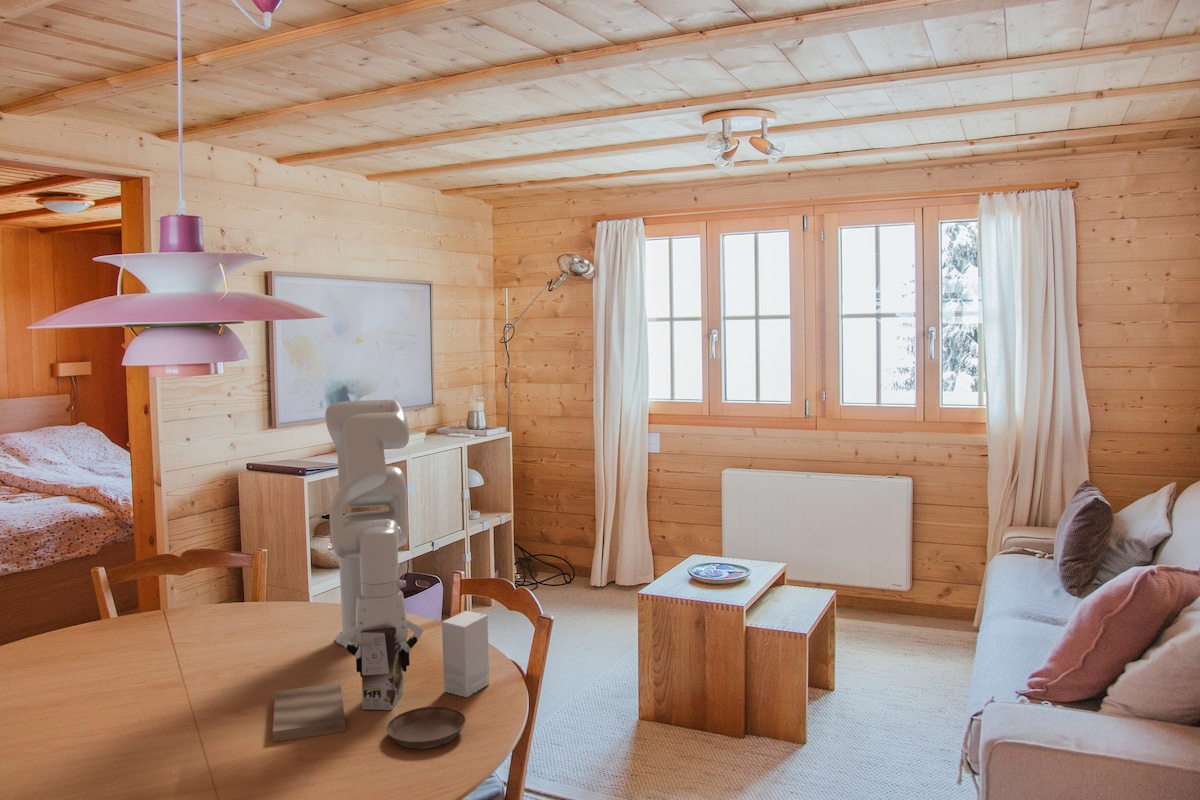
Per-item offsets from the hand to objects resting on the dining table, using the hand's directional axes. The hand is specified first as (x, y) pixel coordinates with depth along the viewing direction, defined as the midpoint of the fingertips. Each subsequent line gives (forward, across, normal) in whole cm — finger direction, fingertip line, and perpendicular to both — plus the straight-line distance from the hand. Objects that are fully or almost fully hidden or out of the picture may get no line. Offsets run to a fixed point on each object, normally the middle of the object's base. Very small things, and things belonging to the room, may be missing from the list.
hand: (383, 671), depth 186 cm
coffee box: (+6, 0, 0) cm, 6 cm away
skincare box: (+6, -17, 0) cm, 18 cm away
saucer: (+7, -6, +19) cm, 21 cm away
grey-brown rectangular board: (+6, +15, +2) cm, 16 cm away
